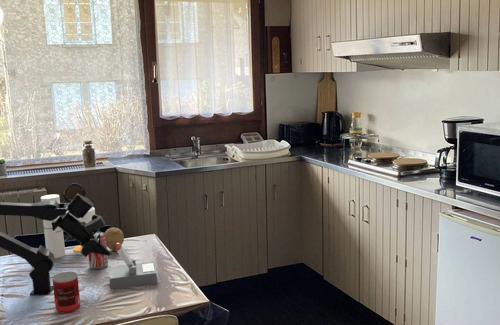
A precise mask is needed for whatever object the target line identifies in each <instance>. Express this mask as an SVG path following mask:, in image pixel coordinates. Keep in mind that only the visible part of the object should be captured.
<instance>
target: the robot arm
mask: <svg viewBox="0 0 500 325" xmlns="http://www.w3.org/2000/svg"><path fill="white" fill-rule="evenodd" d="M92 207H94V204H93V202H92V201H91V200H90V199H89V198H88V197H85V196H83V195H81V194H80V193H77V194H75V195H74V198H73V199H72V200H71V201H70V202H68V203H66V202H65V203H64V202H60V203H58V202H56V201H53V200H51V201H42V202H41V201H39V202H34V203H33V202H30V203H29V202H28V203H27V202H7V201H6V202H5V201H4V202H2V201H0V216H17V217H34V218H36V219H39V220H42V221H43V220H47V221H52V223H51V224H52V230H53V231H54V230H55V229H56V228H57V227H59V228H61V229H62V230H63V232H65V233H66V234H67V235H69V236H70V239H72V240H75V241H77V242H78V243H79V244H80V245H81V246H82V249H81V252H80V253H81V255H83V256H84V257H88V255H89V253H90V252H91V253H97V254H102V255H107V256H108V257H109V256H110V255H111V251H110V250H109V248H108V247H107V248H106V246H105V245H104V244H103V243H102V241H101V236H100V234H99V235H98V236H94V234H95V233H96V232H100V229H103V228H104V227H105V226H106V222H105V220H104V217H103V216H101V214H100V215H98V214H96V213H95V214H94V215H93V216H92V220H91V221H90V222H88V223H85V222H83V221H82V222H80V221H79V220H77V219H76V218H80V217H81V218H83V217H84V216H85V215H86V214H87V212H88V211H89V210H90V209H91V208H92ZM68 210H69V211H68ZM67 211H68V212H67ZM66 212H67V213H66ZM69 213H71V214H72V215H73V216H74V217H73V216H72V215H71V214H69ZM58 216H60V217H59V218H58V219H57V220H56V221H53V220H55V219H56V218H57V217H58ZM75 217H76V218H75ZM80 245H79V246H80ZM0 248H1V249H3V250H6V251H7V252H9V253H11V254H13V255H16V256H17V257H19V258H21V259H23V260H25V261H26V262H27V264H29V266H31V270H30V272H29V274H28V275H29V277H30V279H31V281H32V290H31V291H30V293H29V296H38V295H39V296H40V295H41V296H42V295H43V296H44V295H45V296H46V295H49V294H50V293H51V292H52V291H54V290H53V285H51V284H52V283H51V279H50V278H51V277H50V276H51V275H50V272H51V270H52V269H53V266H54V264H55V260H56V258H55V257H54V254H53V253H52V252H51V250H49V249H46V247H44V246H43V245H41V244H40V245H39V247H32V246H30V245H28V244H26V243H24V242H22V241H20V240H18V239H16V238H14V237H13V236H10V235H8V234H7V233H5V232H3V231H1V230H0Z"/></svg>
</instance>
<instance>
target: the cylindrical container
mask: <svg viewBox="0 0 500 325" xmlns="http://www.w3.org/2000/svg"><path fill="white" fill-rule="evenodd" d="M51 200H53V201H56V202H58V203H61V201H60V200H61V198H60V194H45V195H43V196H41V197H40V202H42V201H51ZM59 217H60V216H58V217H57V218H56V219H55V220H53V221H56V220H57V219H58V218H59ZM51 223H52V221H47V220H42V224H43V232H44V242H45V248H46V249H49V250H51V252H52V253H53V254H54V257H55V259H60V258H62V257H65V255H66V249H65V248H66V247H65V238H64V237H65V236H64V231H63V230H62V229H61V228H59V227H57V228H56V229H55V230H54V231H53V230H52V224H51Z"/></svg>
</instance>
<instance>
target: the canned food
mask: <svg viewBox="0 0 500 325" xmlns="http://www.w3.org/2000/svg"><path fill="white" fill-rule="evenodd" d="M51 281H52V286H53V290H52V291H53V297H54V305H55V310H56V312H58V313H61V314H70V313H74V312H76V311H78V310H79V309H80V307H81V296H80V295H81V294H80V286H79V278H78V273H77V272H75V271H63V272H58V273H56V274H54V275H53V276H52V280H51Z"/></svg>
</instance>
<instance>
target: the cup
mask: <svg viewBox="0 0 500 325" xmlns="http://www.w3.org/2000/svg"><path fill="white" fill-rule="evenodd" d="M68 211H69V210H68ZM68 211H67V212H68ZM67 212H66V213H67ZM66 213H65V214H66ZM69 214H71V213H69ZM94 214H96V208H95V207H94V206H93V207H92V208H91V209H90V210H89V211H88V212H87V214H86V215H85V216H84V217H83V218H81V217H80V218H76V217H75V218H76V219H77V220H79V221H80V222H82V221H83V222H85V223H88V222H90V221H91V220H92V216H93V215H94ZM71 215H72V214H71ZM72 216H73V215H72ZM73 217H74V216H73ZM81 249H82V246H81V245H76V246H75V247H73V248H72V251H73V252H76V253H82V252H81Z"/></svg>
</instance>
